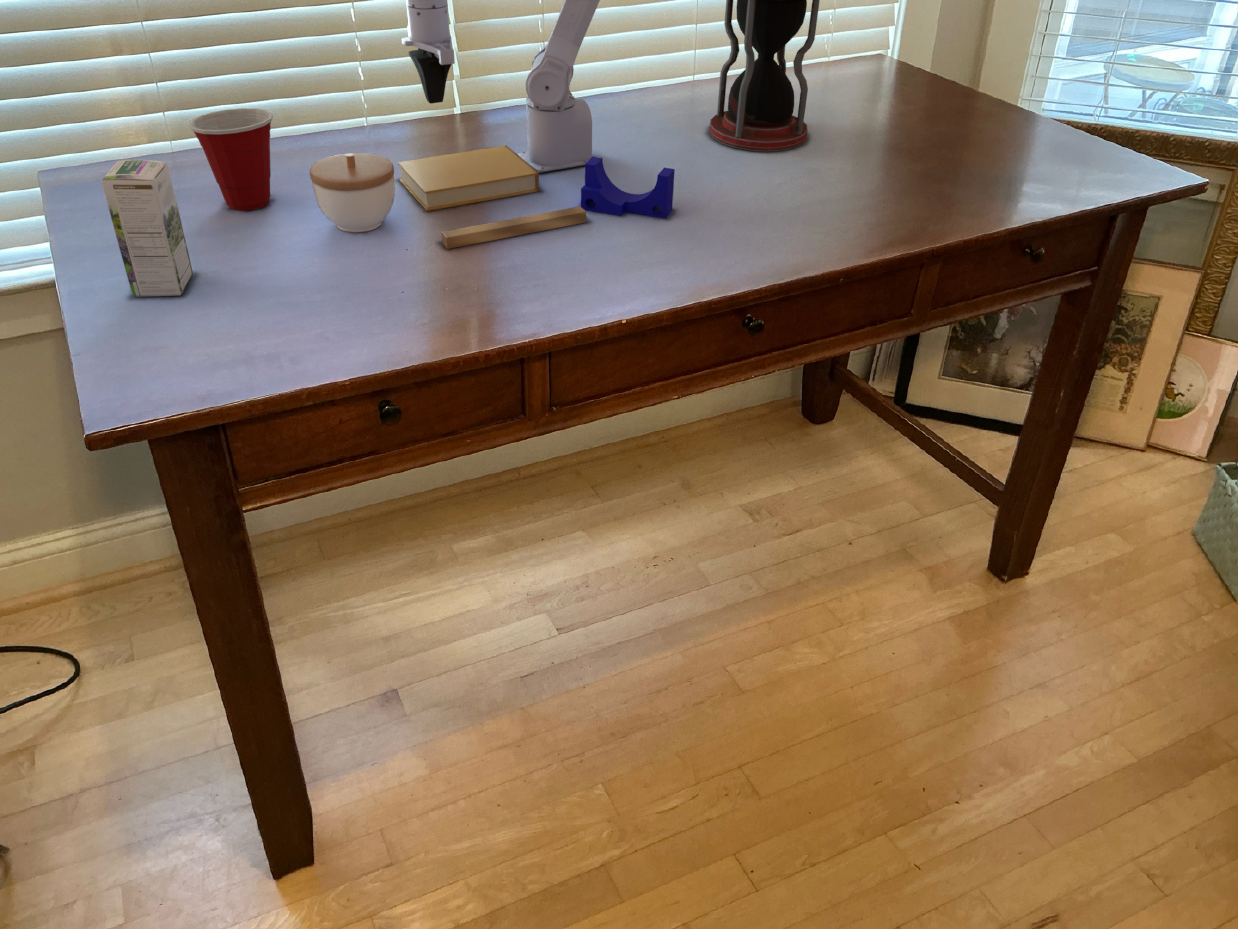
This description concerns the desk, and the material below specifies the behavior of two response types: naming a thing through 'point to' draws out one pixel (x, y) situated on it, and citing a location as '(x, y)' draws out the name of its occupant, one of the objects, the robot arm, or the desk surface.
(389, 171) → the trinket box
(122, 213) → the syrup box
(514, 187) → the book
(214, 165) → the plastic cup
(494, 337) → the desk surface
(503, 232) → the rail
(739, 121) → the hourglass
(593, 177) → the blue cradle bracket
